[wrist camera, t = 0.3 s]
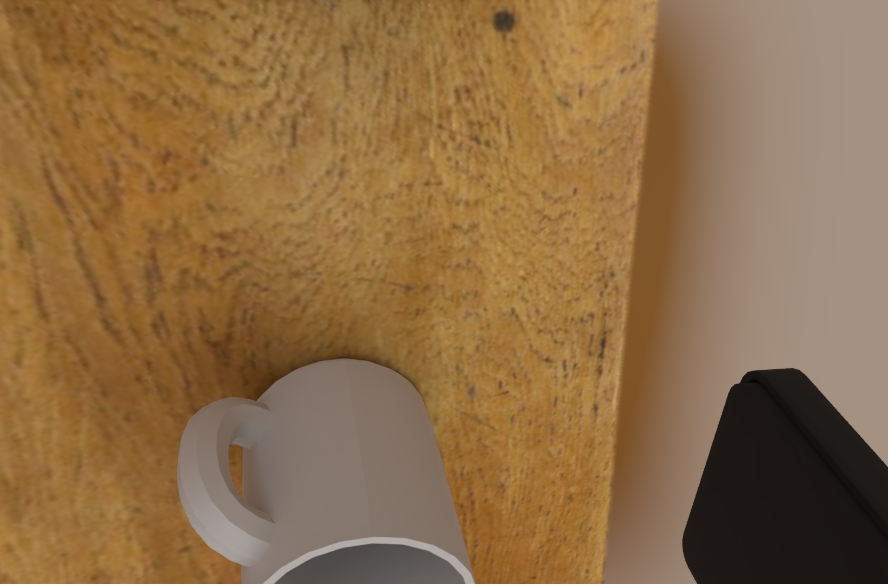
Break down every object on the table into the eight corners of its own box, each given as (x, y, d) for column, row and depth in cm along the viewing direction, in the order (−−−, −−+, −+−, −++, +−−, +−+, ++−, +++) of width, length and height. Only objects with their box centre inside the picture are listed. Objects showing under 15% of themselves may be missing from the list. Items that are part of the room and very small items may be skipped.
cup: (360, 514, 36) (389, 711, 28) (139, 430, 31) (105, 638, 24) (464, 398, 34) (524, 579, 26) (241, 287, 29) (238, 470, 22)
